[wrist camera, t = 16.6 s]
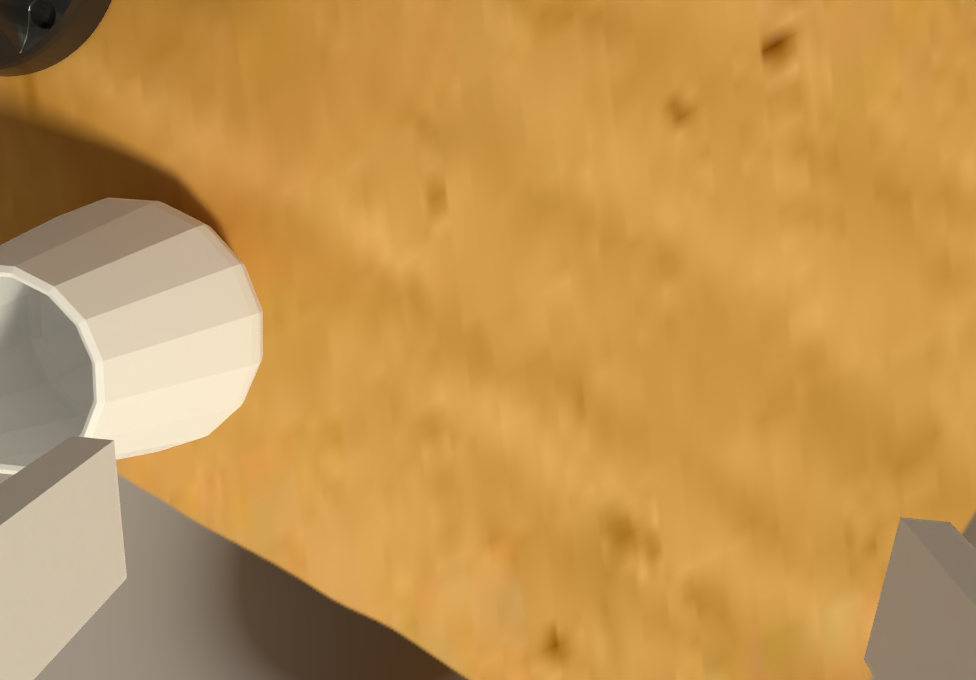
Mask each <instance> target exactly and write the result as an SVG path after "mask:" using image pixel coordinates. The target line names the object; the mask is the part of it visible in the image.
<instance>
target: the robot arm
mask: <svg viewBox="0 0 976 680" xmlns="http://www.w3.org/2000/svg"><path fill="white" fill-rule="evenodd" d="M110 2H111V0H0V76H18V75H25V74H30V73H34V72H37V71H40V70H43V69H46V68H48V67H50V66H52V65H54V64H56V63H58V62H60V61H62V60H63V59H65V58H66V57H68V56H69V55H70V54H72V53H73V52H74V51H75V50H77V49H78V48H79V47H80V46H81V45H82V44H83V43H84V42H85V41H86V40H87V39H88V38H89V36H90V35H91V34H92V33H93V32H94V30H95V29H96V28H97V26H98V25H99V23H100V21H101V20H102V18H103V17H104V15H105V13H106V11H107V9H108V7H109V5H110ZM126 578H127V575H126V565H125V554H124V543H123V533H122V521H121V510H120V500H119V489H118V478H117V467H116V456H115V445H114V440H107V439H97V438H87V437H76V436H71V437H69V438H68V439H66V440H65V441H63V442H62V443H60V444H59V445H57V446H56V447H54V448H53V449H51V450H50V451H48V452H47V453H45V454H44V455H42V456H41V457H39V458H38V459H36V460H35V461H33V462H32V463H30V464H29V465H27V466H26V467H25V468H23V469H22V470H20V471H19V472H17V473H16V474H14V475H13V476H11V477H10V478H8V479H7V480H5V481H4V482H2V483H1V484H0V680H34V679H35V678H36V676H37V675H38V674H39V673H40V672H41V671H42V670H43V669H44V668H45V667H46V665H47V664H48V663H49V662H50V661H51V660H52V659H53V658H54V657H55V656H56V655H57V653H58V652H59V651H60V650H61V649H62V648H63V647H64V646H65V645H66V644H67V643H68V642H69V640H70V639H71V638H72V637H73V636H74V635H75V634H76V633H77V632H78V631H79V630H80V628H81V627H82V626H83V625H84V624H85V623H86V622H87V621H88V620H89V619H90V618H91V616H92V615H93V614H94V613H95V612H96V611H97V610H98V609H99V608H100V606H101V605H102V604H103V603H104V602H105V601H106V600H107V599H108V598H109V597H110V596H111V595H112V594H113V592H114V591H115V590H116V589H117V588H118V587H119V586H120V585H121V584H122V583H123V581H124V580H125V579H126ZM864 660H865V662H866V664H867V665H868V667H869V669H870V671H871V672H872V674H873V676H874V678H875V680H976V549H975V548H973V546H972V545H971V544H970V543H969V542H968V541H967V540H966V539H965V538H964V537H963V536H962V535H961V534H960V533H959V531H958V530H957V529H956V528H955V527H954V526H953V525H952V524H951V523H950V522H942V521H932V520H922V519H912V518H902V517H900V521H899V525H898V529H897V533H896V537H895V540H894V544H893V548H892V552H891V556H890V560H889V564H888V568H887V572H886V576H885V580H884V583H883V587H882V591H881V595H880V599H879V603H878V607H877V611H876V615H875V619H874V623H873V627H872V630H871V634H870V638H869V642H868V646H867V650H866V654H865V658H864Z"/></svg>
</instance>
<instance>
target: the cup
mask: <svg viewBox="0 0 976 680" xmlns="http://www.w3.org/2000/svg"><path fill="white" fill-rule="evenodd" d="M262 335H263V310H262V308H261V305H260V303H259V300H258V298H257V295H256V293H255V290H254V288H253V285H252V282H251V280H250V277H249V275H248V272H247V270H246V267H245V265H244V263H243V262H242V261H241V260H240V259H239V258H238V256H237V255H236V254H235V253H234V252H233V251H232V250H231V249H230V248H229V247H228V245H227V244H226V243H225V242H224V241H223V240H222V239H221V238H220V237H219V235H218V234H217V233H216V232H215V231H214V230H213V229H212V228H211V227H210V226H209V225H207V224H205V223H203V222H201V221H199V220H197V219H195V218H193V217H191V216H189V215H187V214H185V213H183V212H181V211H179V210H177V209H175V208H173V207H171V206H169V205H167V204H165V203H162V202H160V201H152V200H138V199H124V198H110V197H109V198H105V199H102V200H99V201H96V202H94V203H91V204H88V205H86V206H83V207H80V208H78V209H75V210H73V211H70V212H67V213H65V214H62V215H59V216H57V217H55V218H53V219H51V220H49V221H47V222H45V223H43V224H41V225H39V226H37V227H35V228H33V229H31V230H29V231H27V232H25V233H23V234H21V235H19V236H17V237H15V238H13V239H11V240H9V241H7V242H5V243H3V244H1V245H0V473H4V474H13V475H14V474H16V473H17V472H19V471H20V470H22V469H23V468H25V467H26V466H27V465H29V464H30V463H32V462H33V461H35V460H36V459H38V458H39V457H41V456H42V455H44V454H45V453H47V452H48V451H50V450H51V449H53V448H54V447H56V446H57V445H59V444H60V443H62V442H63V441H65V440H66V439H68V438H69V437H71V436H76V437H87V438H97V439H107V440H114V445H115V456H116V459H122V458H127V457H132V456H137V455H142V454H148V453H153V452H158V451H161V450H164V449H167V448H171V447H174V446H177V445H180V444H184V443H187V442H190V441H193V440H196V439H200V438H202V437H205V436H207V435H209V434H210V433H211V432H212V431H213V430H214V429H216V428H217V427H218V426H219V425H220V424H221V423H222V422H223V421H224V420H226V419H227V418H228V417H229V416H230V415H231V414H232V413H233V412H234V411H235V410H237V409H238V408H239V407H240V406H241V405H242V403H243V402H244V400H245V398H246V395H247V393H248V391H249V388H250V386H251V384H252V381H253V379H254V377H255V374H256V372H257V370H258V367H259V365H260V363H261V360H262Z"/></svg>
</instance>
